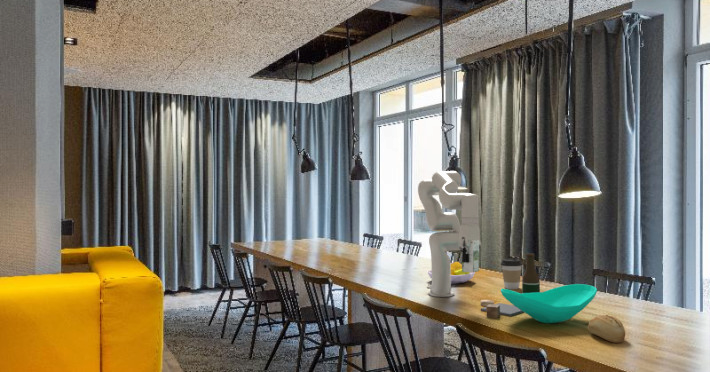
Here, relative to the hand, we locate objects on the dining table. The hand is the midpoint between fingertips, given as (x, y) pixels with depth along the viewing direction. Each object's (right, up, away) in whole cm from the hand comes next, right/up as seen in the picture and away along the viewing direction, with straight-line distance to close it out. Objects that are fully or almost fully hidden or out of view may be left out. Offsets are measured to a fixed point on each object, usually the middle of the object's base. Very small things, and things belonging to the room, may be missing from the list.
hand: (470, 261), depth 250 cm
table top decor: (+27, -21, -25) cm, 42 cm away
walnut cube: (+7, -21, -14) cm, 27 cm away
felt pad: (+14, -21, -5) cm, 26 cm away
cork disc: (+9, -21, +7) cm, 24 cm away
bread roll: (+39, -21, -50) cm, 67 cm away
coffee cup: (+31, -21, +46) cm, 59 cm away
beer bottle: (+28, -21, +2) cm, 35 cm away
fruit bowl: (+3, -21, +66) cm, 70 cm away
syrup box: (0, -5, 0) cm, 5 cm away
